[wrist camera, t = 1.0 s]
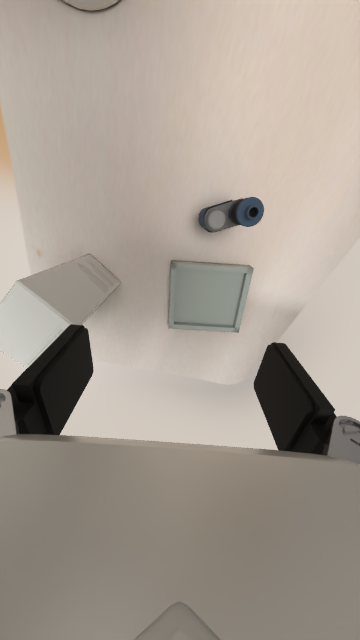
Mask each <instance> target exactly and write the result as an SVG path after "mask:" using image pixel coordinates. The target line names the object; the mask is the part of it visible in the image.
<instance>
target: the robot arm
mask: <svg viewBox="0 0 360 640" xmlns="http://www.w3.org/2000/svg"><path fill="white" fill-rule="evenodd" d="M63 1H65V2H66V3H68V4H70V5H72V6H74V7H77V8H79V9H84V10H90V11H93V10H100V9H105V8H107V7H109V6H111V5H113V4H115V3H116V2H117V1H119V0H63ZM92 374H93V363H92V356H91V349H90V341H89V334H88V330H87V328H85V327H84V326H83V325H74V324H71V325H69V326H68V327H67V328H66V329H65V330H64V331H63V332H62V333H61V334H60V335H59V336H58V337H57V338H56V340H55V341H54V342H53V343H52V344H51V345H50V346H49V347H48V348H47V349H46V350H45V351H44V352H43V353H42V354H41V355H40V356H39V357H38V358H37V359H36V360H35V361H34V362H33V363H32V364H31V365H30V366H29V367H28V368H27V369H26V370H25V371H24V372H23V373H22V374H21V375H20V376H19V378H17V380H16V381H15V382H13V384H12V385H11V387H9V389H8V390H3V389H0V640H360V422H359V421H358V420H356V419H353V418H351V417H347V416H338V417H336V415H335V414H334V411H335V409H334V408H333V406H332V405H331V404H330V403H329V401H328V400H327V398H326V397H325V396H324V394H323V393H322V392H321V391H320V389H319V388H318V386H317V385H316V384H315V383H314V381H313V380H312V379H311V377H310V376H309V375H308V373H307V372H306V371H305V369H304V368H303V367H302V365H301V364H300V363H299V361H298V360H297V359H296V357H295V356H294V355H293V353H292V352H291V351H290V349H289V348H288V347H287V346H286V344H284V343H274V342H273V343H272V344H271V345H268V347H267V349H266V352H265V354H264V357H263V360H262V362H261V365H260V368H259V370H258V373H257V376H256V378H255V381H254V389H255V392H256V394H257V397H258V400H259V402H260V404H261V407H262V410H263V412H264V414H265V417H266V420H267V422H268V425H269V427H270V430H271V432H272V435H273V437H274V440H275V443H276V445H277V448H278V450H279V451H278V450H266V449H253V448H239V447H227V446H213V445H200V444H185V443H172V442H158V441H142V440H128V439H113V438H98V437H82V436H63V435H60V433H61V431H62V429H63V428H64V426H65V424H66V422H67V420H68V418H69V417H70V414H71V413H72V411H73V409H74V407H75V406H76V404H77V402H78V400H79V398H80V396H81V395H82V393H83V391H84V389H85V387H86V386H87V384H88V382H89V380H90V378H91V376H92Z"/></svg>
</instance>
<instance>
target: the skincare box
mask: <svg viewBox="0 0 360 640" xmlns="http://www.w3.org/2000/svg"><path fill="white" fill-rule="evenodd" d="M119 284H120V281H119V280H117V279H116V278H115V277H114V276H113V275H112V274H111V273H110V272H109V271H108V270H107V269H106V268H104V267H103V266H102V265H101V264H100V263H99V262H98V261H97V260H96V259H95V258H94V257H93V256H92V255H91V254H88V255H86V256H83V257H81V258H78V259H75V260H72V261H69V262H67V263H64V264H61V265H59V266H56V267H53V268H50V269H48V270H45V271H42V272H39V273H37V274H34V275H31V276H28V277H26V278H23V279H20V280H18V281H16V283H15V284H14V286H13V287H12V288H11V289H10V291H9V292H8V293H7V294H6V296H5V297H4V298H3V300H2V301H1V302H0V351H2V352H3V353H5V354H7V355H8V356H10V357H11V358H13V359H15V360H16V361H17V362H19V363H21V364H22V365H24V366H25V367H27V368H28V367H29V366H30V365H31V364H32V363H33V362H34V361H35V360H36V359H37V358H38V357H39V356H40V355H41V354H42V353H43V352H44V351H45V350H46V349H47V348H48V347H49V346H50V345H51V344H52V343H53V342H54V341H55V340H56V338H57V337H58V336H59V335H60V334H61V333H62V332H63V331H64V330H65V329H66V328H67V327H68V326H69V325H71V324H74V325H82V324H83V323H84V322H85V321H86V320H87V319H88V318H89V317H90V316H91V314H92V313H93V312H94V311H95V310H96V309H97V308H98V307H99V306H100V305H101V304H102V302H103V301H104V300H105V299H106V298H107V297H108V296H109V295H110V294H111V293H112V292H113V291H114V290H115V288H116V287H117V286H118V285H119Z"/></svg>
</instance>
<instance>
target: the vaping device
mask: <svg viewBox="0 0 360 640" xmlns="http://www.w3.org/2000/svg"><path fill="white" fill-rule="evenodd" d="M263 213H264V207H263V203H262V202H261V201H260V200H259V199H258V198H255V197H250V198H245V199H238V200H235V201H232V200H230V201H227V202H224V203H220V204H217V205H214V206H211V207H207V208H204V209H202V211H201V212H200V214H199V222H200V225H201V226H202V227H203V228H204V229H205V230H207V231H208V232H217V231H220V230H223V229H227V228H230V227H234V226H237V225H242V226H246V227H251V226H254V225H256V224H257V223H258V222H259V221H260V220H261V218H262V216H263Z"/></svg>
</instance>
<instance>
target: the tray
mask: <svg viewBox="0 0 360 640" xmlns="http://www.w3.org/2000/svg"><path fill="white" fill-rule="evenodd" d="M252 272H253V267H251V266H250V265H237V264H221V263H206V262H191V261H176V260H172V261H171V279H170V304H169V328H172V329H189V330H205V331H222V332H238V333H239V329H240V324H241V320H242V316H243V311H244V307H245V303H246V298H247V294H248V290H249V285H250V281H251V277H252Z"/></svg>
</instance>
